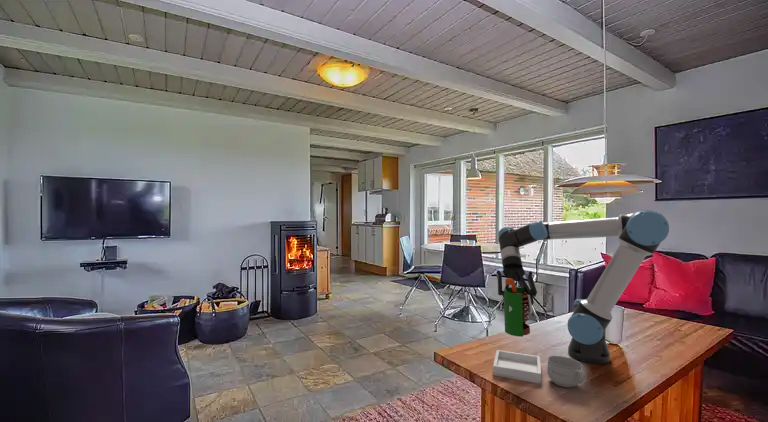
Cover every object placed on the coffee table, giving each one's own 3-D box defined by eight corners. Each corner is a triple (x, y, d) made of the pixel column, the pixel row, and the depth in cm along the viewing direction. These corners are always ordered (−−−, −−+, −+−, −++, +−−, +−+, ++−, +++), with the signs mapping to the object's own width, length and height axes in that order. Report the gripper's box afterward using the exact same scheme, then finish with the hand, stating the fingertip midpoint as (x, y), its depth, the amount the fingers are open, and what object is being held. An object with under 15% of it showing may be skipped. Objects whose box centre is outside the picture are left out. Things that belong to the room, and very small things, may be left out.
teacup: (541, 376, 135) (541, 354, 135) (569, 375, 136) (570, 354, 136) (562, 396, 121) (563, 372, 121) (594, 395, 122) (595, 371, 122)
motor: (532, 337, 134) (530, 281, 133) (506, 336, 136) (504, 281, 135) (527, 327, 144) (525, 275, 143) (503, 326, 146) (501, 276, 145)
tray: (539, 365, 144) (539, 356, 144) (540, 383, 130) (540, 373, 129) (496, 358, 150) (496, 349, 150) (492, 375, 135) (493, 365, 135)
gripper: (534, 266, 153) (546, 318, 138) (485, 265, 155) (491, 315, 140) (538, 255, 148) (551, 307, 132) (488, 254, 150) (494, 305, 134)
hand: (520, 311), depth 136 cm, fingers closed on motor, 6 cm apart
